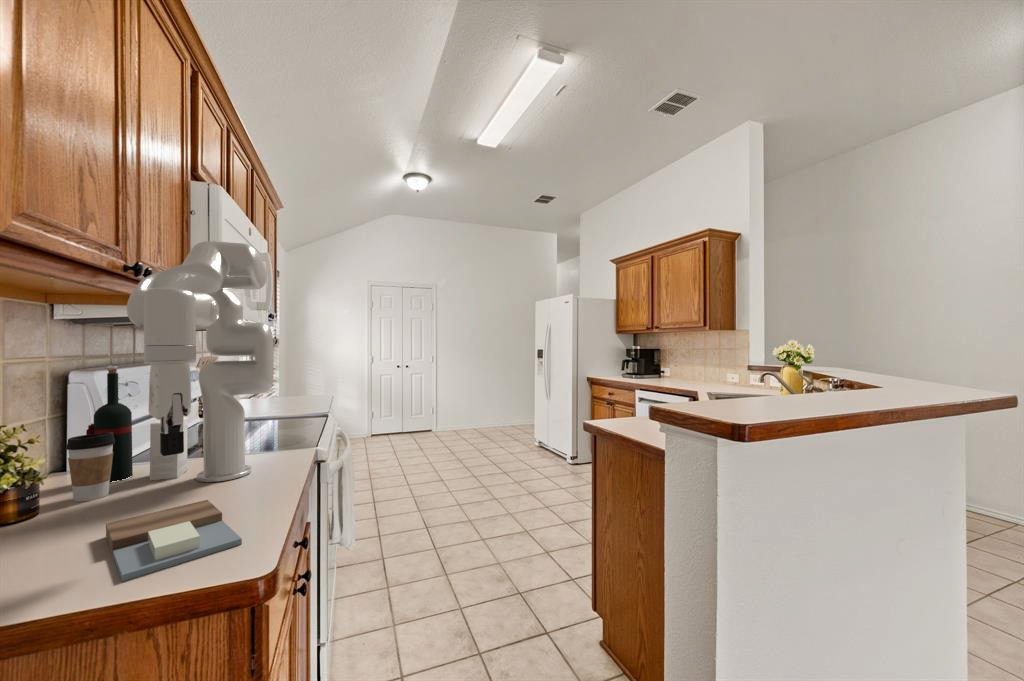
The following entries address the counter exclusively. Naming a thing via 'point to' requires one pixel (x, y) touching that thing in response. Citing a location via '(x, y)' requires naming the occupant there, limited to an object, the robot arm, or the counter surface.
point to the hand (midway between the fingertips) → (172, 453)
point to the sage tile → (173, 540)
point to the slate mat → (142, 562)
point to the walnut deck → (159, 523)
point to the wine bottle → (115, 429)
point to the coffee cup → (90, 465)
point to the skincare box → (166, 464)
